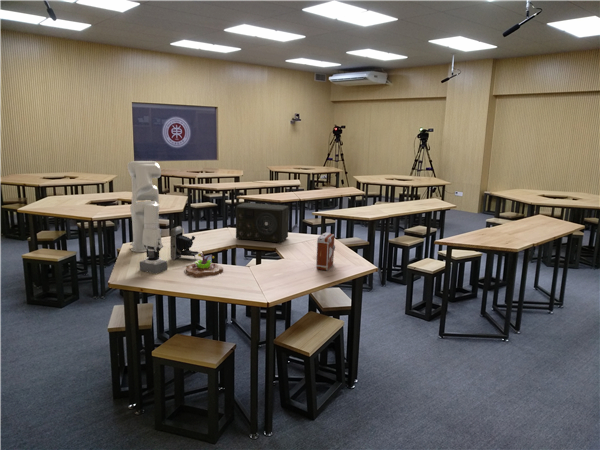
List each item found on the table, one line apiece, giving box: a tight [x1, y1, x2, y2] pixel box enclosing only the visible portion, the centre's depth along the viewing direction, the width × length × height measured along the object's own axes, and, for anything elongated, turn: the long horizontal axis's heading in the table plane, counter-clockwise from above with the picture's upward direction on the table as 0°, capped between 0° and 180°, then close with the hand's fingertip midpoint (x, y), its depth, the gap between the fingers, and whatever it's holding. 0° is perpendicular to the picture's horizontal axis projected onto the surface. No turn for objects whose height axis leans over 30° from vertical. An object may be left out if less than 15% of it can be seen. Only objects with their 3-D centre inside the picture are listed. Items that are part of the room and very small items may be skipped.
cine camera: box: [315, 232, 336, 271], centre depth 267 cm, size 9×19×20 cm, turn 161°
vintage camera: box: [169, 225, 201, 260], centre depth 274 cm, size 10×15×20 cm, turn 78°
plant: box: [185, 252, 224, 278], centre depth 252 cm, size 20×20×11 cm
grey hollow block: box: [138, 256, 168, 275], centre depth 252 cm, size 12×9×6 cm
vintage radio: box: [235, 202, 290, 244], centre depth 328 cm, size 38×20×25 cm, turn 75°
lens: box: [147, 246, 158, 261], centre depth 251 cm, size 5×5×8 cm
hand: (153, 257), depth 251 cm, fingers closed on lens, 5 cm apart
